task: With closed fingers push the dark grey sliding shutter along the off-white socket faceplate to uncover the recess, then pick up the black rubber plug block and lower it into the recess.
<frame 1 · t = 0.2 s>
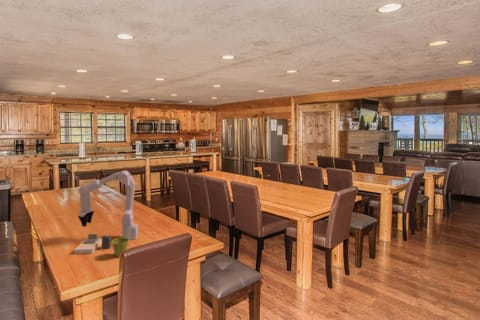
hand: (86, 224, 200), 10 cm above the table, fingers open, 7 cm apart
plug: (106, 247, 188), on the table
socket plate: (89, 247, 188), on the table
plant pot: (120, 255, 177), on the table
shutter: (91, 238, 191), point 4 cm above the table, slide at 0.0 cm
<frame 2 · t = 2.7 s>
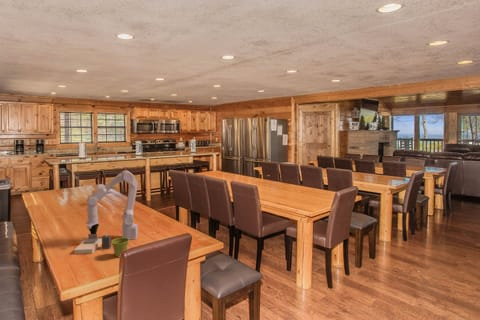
hand: (93, 236, 195), 4 cm above the table, fingers closed
shutter: (91, 238, 191), point 4 cm above the table, slide at 0.0 cm, touching gripper
everything else where it was.
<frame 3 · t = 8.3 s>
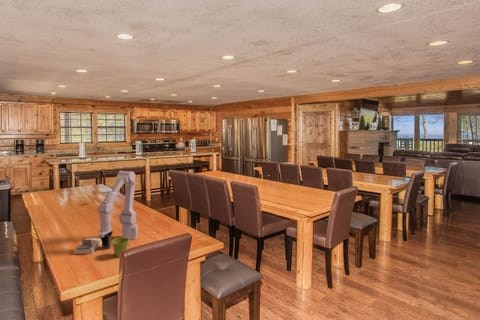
hand: (106, 244, 188), 2 cm above the table, fingers closed on plug, 3 cm apart
plug: (106, 247, 188), on the table, touching gripper
shutter: (84, 244, 181), point 4 cm above the table, slide at 9.7 cm
everything else where it was.
when the fingers open (3 cm above the table, at t = 11.5 s): plug drops 1 cm, resting in socket plate.
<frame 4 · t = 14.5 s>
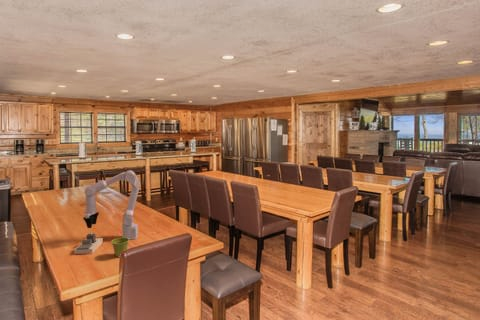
hand: (91, 226, 197), 10 cm above the table, fingers open, 7 cm apart
plug: (91, 245, 191), resting in socket plate
everything else where it was.
at the end: plug 0.2 cm from the target spot on the socket plate, point 0.0 cm above the socket plate's base; shutter slide at 9.7 cm; plug tilted 0° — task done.
